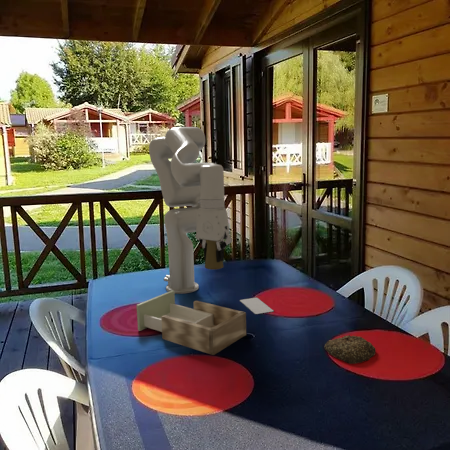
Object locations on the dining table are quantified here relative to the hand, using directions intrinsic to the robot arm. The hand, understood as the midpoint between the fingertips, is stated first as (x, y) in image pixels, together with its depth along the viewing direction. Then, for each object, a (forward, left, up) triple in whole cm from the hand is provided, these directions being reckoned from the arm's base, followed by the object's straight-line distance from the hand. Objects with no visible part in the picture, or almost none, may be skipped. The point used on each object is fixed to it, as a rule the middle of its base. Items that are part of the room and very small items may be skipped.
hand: (214, 259), depth 153 cm
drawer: (-3, -15, -19) cm, 24 cm away
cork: (0, 0, -3) cm, 3 cm away
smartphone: (+6, +15, -20) cm, 26 cm away
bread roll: (+47, 0, -20) cm, 51 cm away
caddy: (+7, -15, -19) cm, 25 cm away
